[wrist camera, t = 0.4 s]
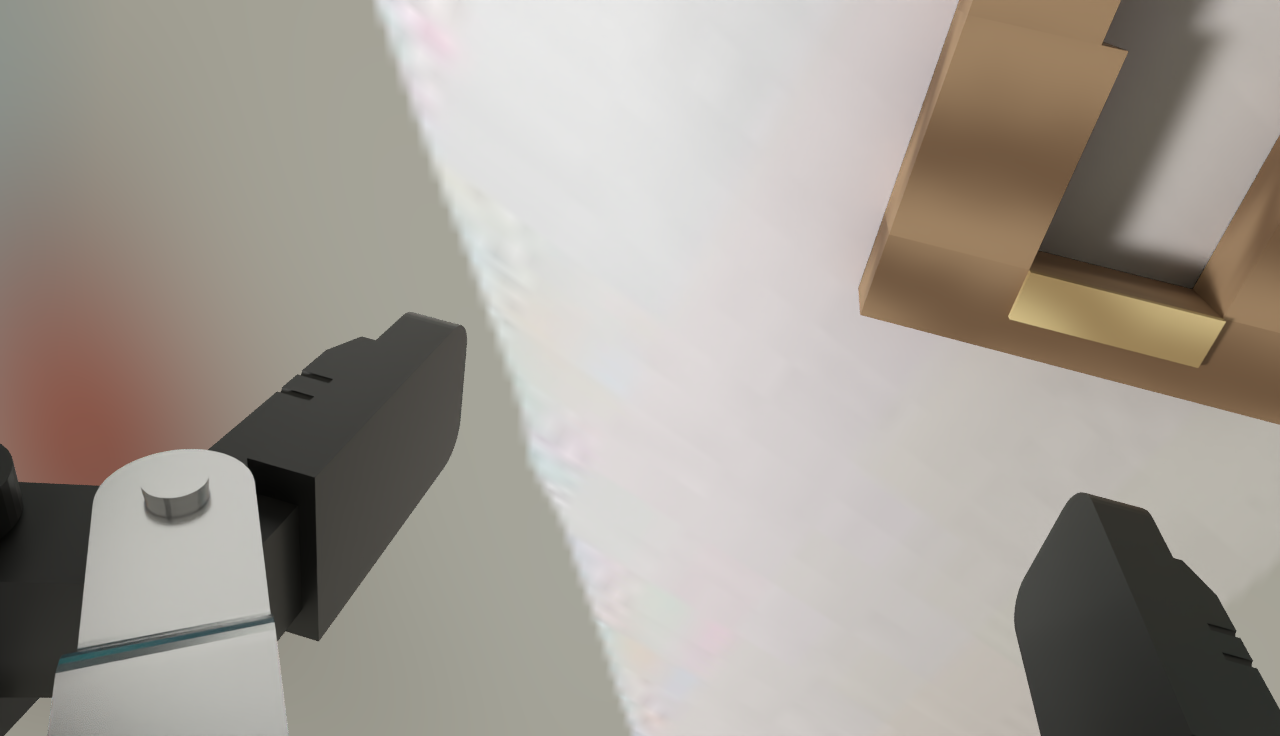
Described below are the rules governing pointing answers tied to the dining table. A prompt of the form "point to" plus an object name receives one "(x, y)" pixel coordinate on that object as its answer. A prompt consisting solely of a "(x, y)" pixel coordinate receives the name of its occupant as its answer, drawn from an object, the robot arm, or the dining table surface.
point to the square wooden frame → (1024, 207)
